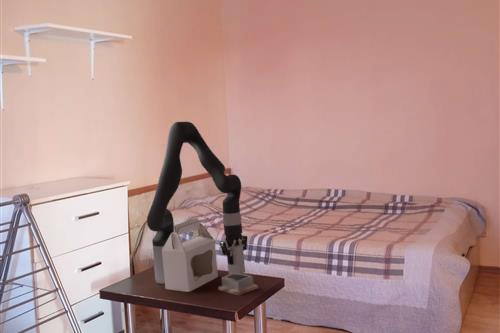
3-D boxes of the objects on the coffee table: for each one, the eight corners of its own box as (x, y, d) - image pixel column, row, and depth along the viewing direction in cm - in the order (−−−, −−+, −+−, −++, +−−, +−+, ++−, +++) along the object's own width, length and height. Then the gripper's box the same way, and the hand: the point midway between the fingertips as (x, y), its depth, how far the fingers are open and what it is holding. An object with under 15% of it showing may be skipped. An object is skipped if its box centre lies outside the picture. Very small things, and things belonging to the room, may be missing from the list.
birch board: (218, 289, 218) (218, 286, 218) (237, 282, 225) (237, 279, 225) (238, 295, 208) (238, 292, 208) (258, 288, 216) (258, 285, 216)
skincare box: (245, 272, 217) (243, 244, 216) (240, 275, 213) (237, 247, 212) (233, 271, 220) (231, 243, 219) (228, 274, 216) (225, 246, 215)
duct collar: (222, 286, 218) (221, 277, 217) (237, 281, 224) (236, 272, 223) (238, 291, 210) (238, 281, 210) (253, 285, 216) (252, 276, 216)
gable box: (188, 292, 217) (182, 227, 215) (164, 289, 224) (158, 226, 222) (218, 276, 236) (213, 216, 234) (195, 274, 243) (190, 216, 241)
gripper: (239, 218, 222) (242, 257, 224) (213, 225, 212) (217, 265, 214) (251, 220, 217) (254, 259, 218) (225, 227, 207) (228, 268, 208)
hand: (235, 262), depth 216 cm, fingers closed on skincare box, 5 cm apart
